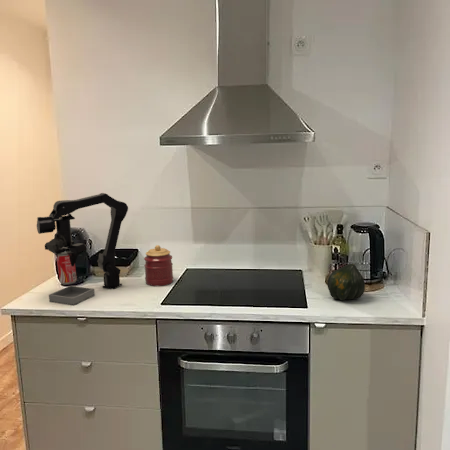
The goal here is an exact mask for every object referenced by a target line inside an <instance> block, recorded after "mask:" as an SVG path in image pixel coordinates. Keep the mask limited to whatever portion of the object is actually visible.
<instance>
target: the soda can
mask: <svg viewBox="0 0 450 450" xmlns="http://www.w3.org/2000/svg"><path fill="white" fill-rule="evenodd" d="M68 252H69V251H65V252H62V253H60V254H58V257H56V262H57V263H56V265H57V269H58V270H57V272H58V279H59V283H60V284H61V285H66V286H68V285H72V284H75V283H76V282H77V280H78V278H77V270H76V269H77V268H76V263H75V264H74V266H72V265H71V262H70V256H69V255H68V254H67V253H68Z"/></svg>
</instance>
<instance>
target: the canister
mask: <svg viewBox="0 0 450 450" xmlns="http://www.w3.org/2000/svg"><path fill="white" fill-rule="evenodd" d="M145 255H146V256H145V257H143V260H144V263H145V264H144V273H145V277H144V279H145V283H146V285H148V286H153V287H160V286H161V287H163V286H167V285H171V284H172V283H173V282H174V273H173V271H174V270H173V262H172V259H173V255H171V251H170V250H168V249H167V248H164V247H163V248H162V247H161V246H160V245H159V244H156V245H155V246H154V248H151V249H148V251H146V252H145Z"/></svg>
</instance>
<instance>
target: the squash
mask: <svg viewBox="0 0 450 450" xmlns="http://www.w3.org/2000/svg"><path fill="white" fill-rule="evenodd" d="M365 287H366V283H365V280H364V277H363V275H362V273H361V272H360V271H359V269H358V268H357V266H356V265H355V263H348V264H345V265H342V266H341V267H339V268H338V269H336V270H333V271H332V272H331V273H330V274H329V276H328V278H327V289H328V292H329V295H330V296H331V298H333V299H334V300H339V301H345V300H354V299H359V298H361V297H362V296H363V295H364V293H365Z"/></svg>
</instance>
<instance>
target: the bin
mask: <svg viewBox="0 0 450 450" xmlns="http://www.w3.org/2000/svg"><path fill="white" fill-rule="evenodd" d="M94 296H95V289H94V288H90V287H84V286H78V285H77V286H76V285H70V286H67V287H64V288H61V289H60V290H57V291H55V292H52V293H49V294H48V301H49V303H57V304H62V305H67V306H69V305H70V306H75V305H78V304H80V303H82V302H83V301H86V300H88V299H90V298H92V297H94Z"/></svg>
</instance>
